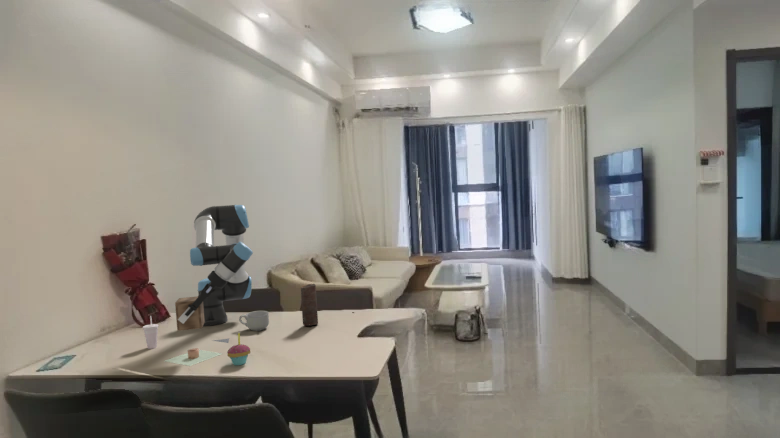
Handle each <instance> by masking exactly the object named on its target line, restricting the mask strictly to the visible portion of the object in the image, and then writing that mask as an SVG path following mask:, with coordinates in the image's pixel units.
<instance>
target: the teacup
mask: <svg viewBox="0 0 780 438" xmlns="http://www.w3.org/2000/svg"><path fill="white" fill-rule="evenodd" d="M269 314H270V313H269V311H267V310H254V311H250V312H248V313H246V314H241V315H239V318H238V321H239V322H240V324H242V325H244V326H245V327H247V328H248V329H249V330H250V331H256V332H259V331H263V330H265V329H267V328H268V326H269V323H270V319H269V317H270V315H269ZM242 318H244V320H245V321H246V322H244V321H243V320H242Z"/></svg>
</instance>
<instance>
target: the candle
mask: <svg viewBox="0 0 780 438" xmlns="http://www.w3.org/2000/svg"><path fill="white" fill-rule="evenodd" d="M300 296H301V314H302V316H301V317H302V325H304V326H305V327H309V326H311V327H312V326H315V325H318V324H319V316H318V315H319V314H318V304H317V303H318V302H317V287H316V284H315V283H311V284H304V285H303V284H302V285H301V286H300Z"/></svg>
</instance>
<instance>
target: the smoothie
mask: <svg viewBox="0 0 780 438" xmlns="http://www.w3.org/2000/svg"><path fill="white" fill-rule="evenodd" d="M149 319H150V324H146V325H144V326H142V330H143V333H144V337H145V338H144V339H145V343H146V347H147V349H148V350H149V349H150V350H151V349H156V348H157V347H158V331H159V324H157V323H153V319H152V315H149Z"/></svg>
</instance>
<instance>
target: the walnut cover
mask: <svg viewBox="0 0 780 438" xmlns="http://www.w3.org/2000/svg"><path fill="white" fill-rule="evenodd" d="M197 298H198V295H196V296H187V297H180V298H178V299H177V300H175V302H174V305H175V317H176V331H177V332H179V331H189V330H197V329H203V325H204V323H205V321H204V308H203V302H202V303H201V304H200V306H199V307H198V308H197V310H195V311H194V312H193V314H192V315H191V316H190V317H189V318H188V319H187V320H186V321H185V323H184V324H183V323H181V322H180V321H179V320H178V319H179V317H180V316H181V315H182V314H183V313H184V312H185V311H186V310H187V308H188V307H189V306H188V305H189V304H190V305H192V303H193V302H194V301H195V300H196V299H197ZM194 306H195V305H194ZM195 307H196V306H195Z"/></svg>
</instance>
